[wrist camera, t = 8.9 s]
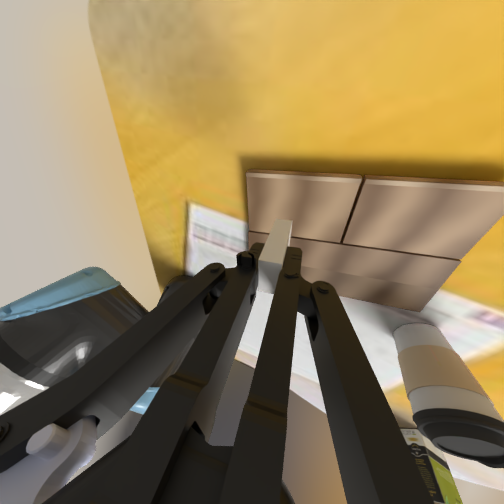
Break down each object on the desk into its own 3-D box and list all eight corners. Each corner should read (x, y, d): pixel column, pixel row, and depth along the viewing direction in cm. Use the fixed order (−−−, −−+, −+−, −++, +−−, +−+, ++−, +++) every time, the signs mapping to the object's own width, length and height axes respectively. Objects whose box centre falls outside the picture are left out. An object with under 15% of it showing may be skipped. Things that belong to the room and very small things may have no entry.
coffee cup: (374, 335, 35) (402, 440, 24) (412, 311, 30) (473, 431, 18) (419, 356, 35) (470, 472, 23) (466, 334, 29) (565, 474, 18)
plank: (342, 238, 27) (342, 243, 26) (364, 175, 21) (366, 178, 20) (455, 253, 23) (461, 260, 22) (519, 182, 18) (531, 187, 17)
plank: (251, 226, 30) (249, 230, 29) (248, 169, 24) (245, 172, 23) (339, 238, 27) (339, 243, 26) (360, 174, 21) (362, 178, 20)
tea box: (386, 440, 60) (402, 515, 48) (366, 425, 58) (378, 500, 47) (441, 444, 51) (477, 538, 39) (419, 427, 49) (450, 520, 38)
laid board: (251, 273, 36) (249, 277, 35) (250, 228, 30) (248, 231, 29) (416, 306, 29) (419, 312, 28) (455, 256, 23) (461, 261, 23)
